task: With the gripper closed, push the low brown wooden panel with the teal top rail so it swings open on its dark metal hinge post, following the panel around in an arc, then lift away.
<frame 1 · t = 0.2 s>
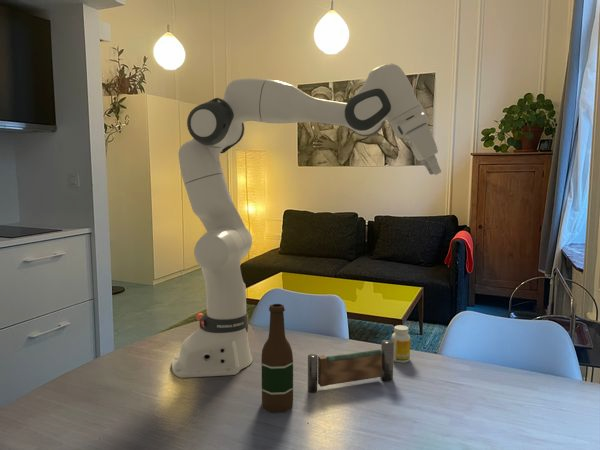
hand: (435, 173, 115), 54 cm above the table, tool tilted 30°, fingers open, 8 cm apart
beer bottle: (277, 405, 107), on the table
supplement bottle: (400, 359, 133), on the table
gate posts: (386, 378, 121), on the table
brown wooden panel: (350, 366, 117), point 5 cm above the table, hinge at 0.0°
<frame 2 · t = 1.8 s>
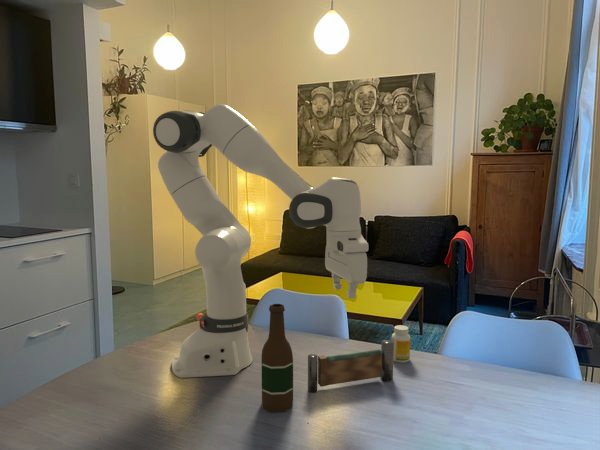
hand: (344, 293, 119), 23 cm above the table, tool pointing down, fingers open, 8 cm apart
nothing on the table moved.
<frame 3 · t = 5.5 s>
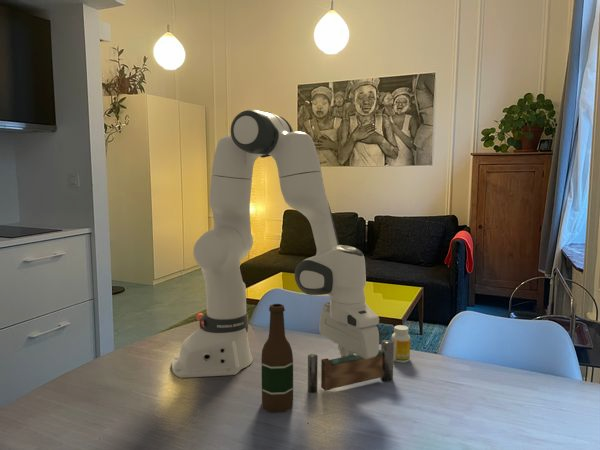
hand: (346, 362, 117), 6 cm above the table, tool pointing down, fingers closed
brown wooden panel: (352, 368, 115), point 5 cm above the table, hinge at 7.0°, touching gripper
everything else where it was.
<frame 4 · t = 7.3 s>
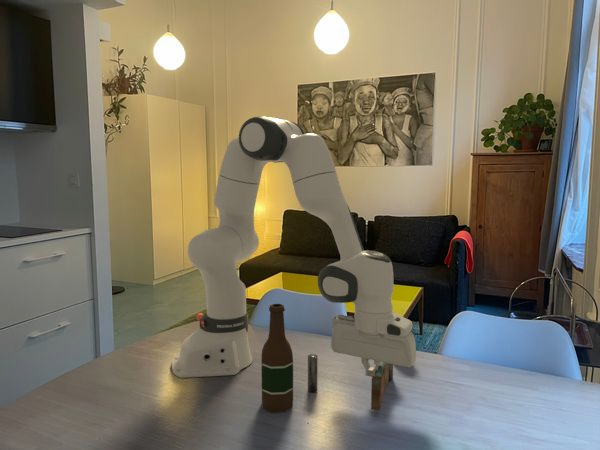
hand: (371, 375, 110), 6 cm above the table, tool pointing down, fingers closed
brown wooden panel: (381, 378, 110), point 5 cm above the table, hinge at 53.4°, touching gripper
everything else where it was.
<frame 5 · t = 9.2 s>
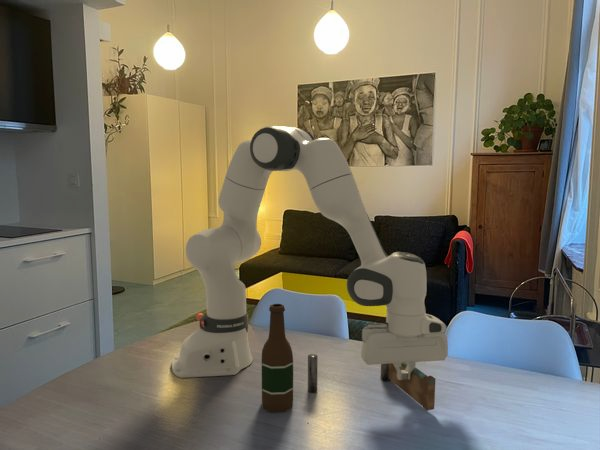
hand: (403, 378, 108), 6 cm above the table, tool pointing down, fingers closed
brown wooden panel: (409, 378, 110), point 5 cm above the table, hinge at 91.4°, touching gripper
everything else where it was.
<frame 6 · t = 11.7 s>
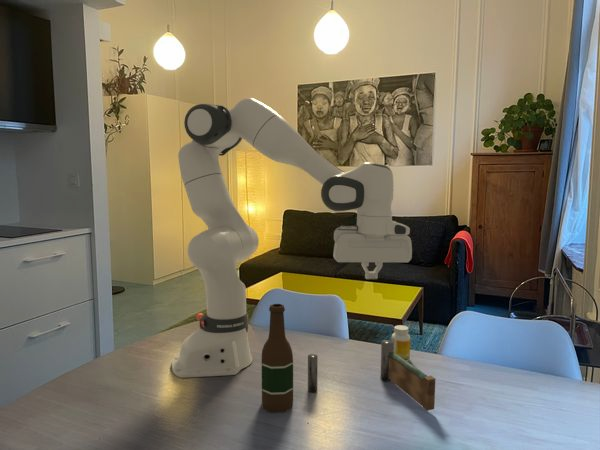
hand: (371, 278, 119), 26 cm above the table, tool pointing down, fingers closed
brown wooden panel: (409, 378, 110), point 5 cm above the table, hinge at 91.4°
everything else where it was.
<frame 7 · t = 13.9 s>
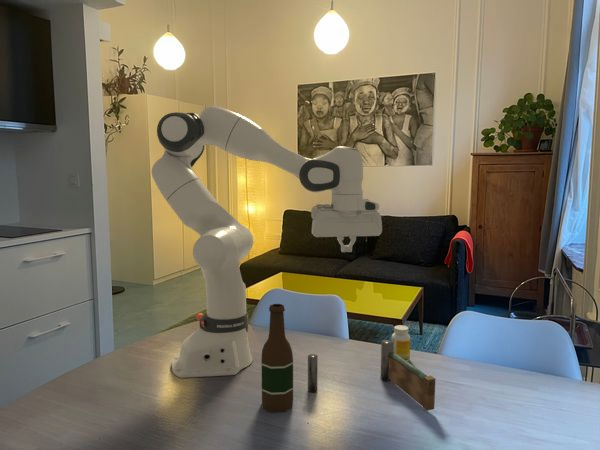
hand: (346, 251, 133), 31 cm above the table, tool pointing down, fingers closed
nothing on the table moved.
at the end: brown wooden panel at +91° (first picture: +0°) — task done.
